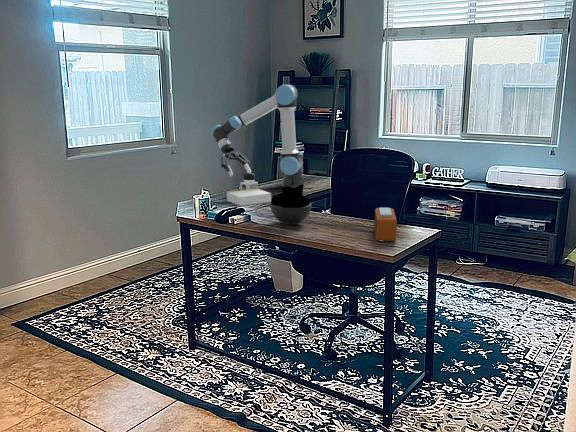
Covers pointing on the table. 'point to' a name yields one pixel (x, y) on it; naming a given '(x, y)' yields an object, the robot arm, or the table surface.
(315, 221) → the table surface
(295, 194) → the bowl of black rocks
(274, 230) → the table surface
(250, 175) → the container
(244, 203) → the block
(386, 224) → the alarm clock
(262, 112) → the robot arm
